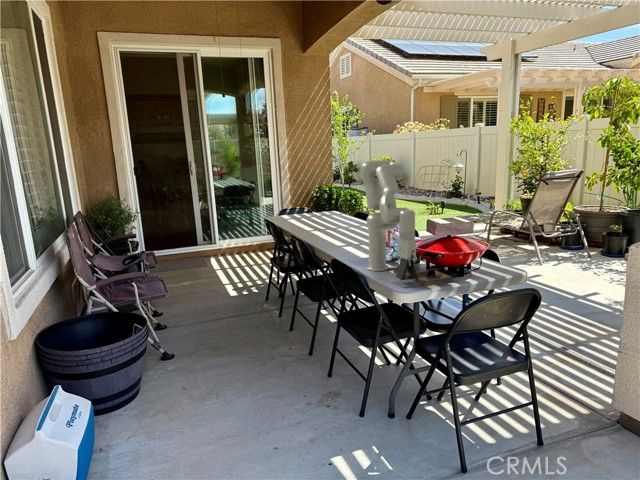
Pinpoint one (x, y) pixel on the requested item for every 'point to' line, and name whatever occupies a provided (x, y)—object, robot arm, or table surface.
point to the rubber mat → (406, 283)
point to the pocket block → (441, 280)
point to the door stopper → (402, 271)
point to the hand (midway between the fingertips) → (406, 270)
